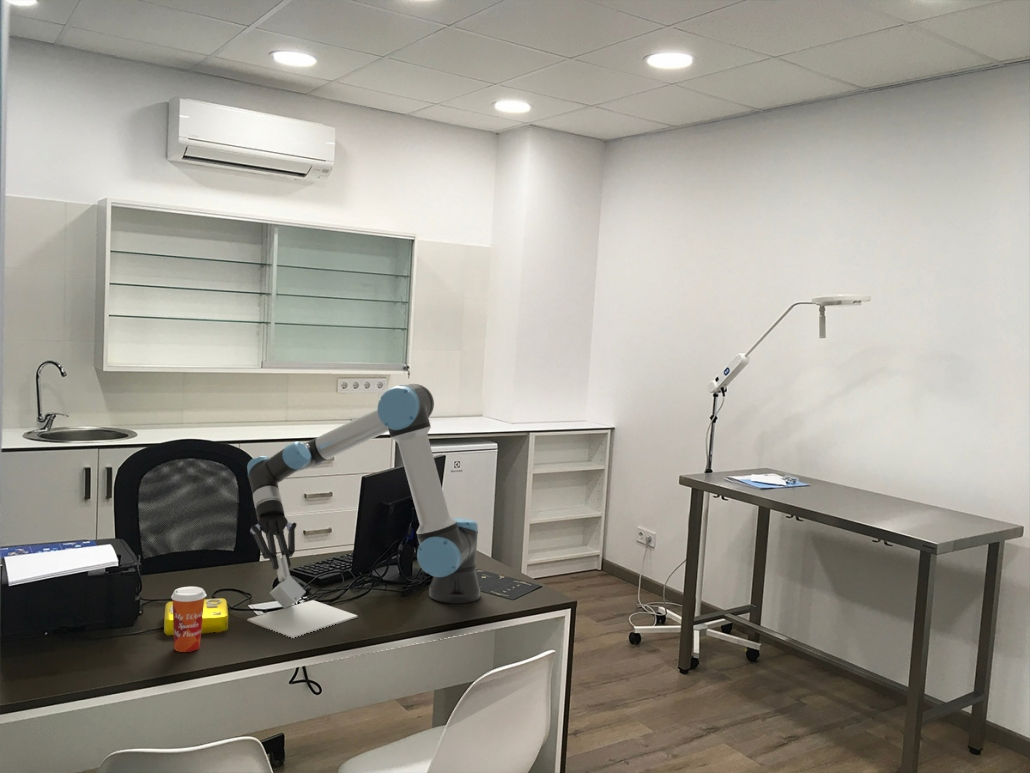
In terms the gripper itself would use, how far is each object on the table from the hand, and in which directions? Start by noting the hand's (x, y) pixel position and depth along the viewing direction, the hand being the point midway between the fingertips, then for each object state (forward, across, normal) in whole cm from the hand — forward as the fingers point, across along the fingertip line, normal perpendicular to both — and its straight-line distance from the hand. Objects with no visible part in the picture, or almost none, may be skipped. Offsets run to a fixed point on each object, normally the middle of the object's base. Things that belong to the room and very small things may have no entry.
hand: (284, 578), depth 231 cm
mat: (+12, -3, 0) cm, 13 cm away
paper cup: (+19, +29, +5) cm, 34 cm away
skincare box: (+2, -1, -6) cm, 6 cm away
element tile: (+7, +23, -6) cm, 25 cm away
